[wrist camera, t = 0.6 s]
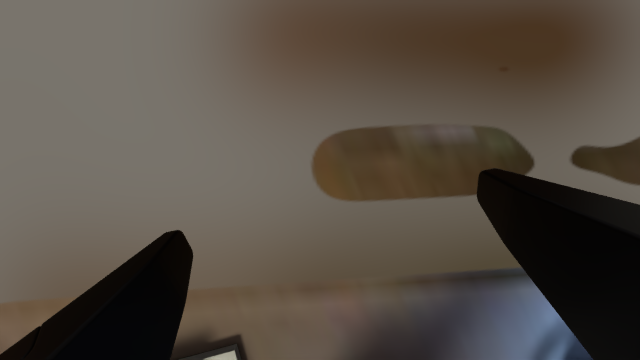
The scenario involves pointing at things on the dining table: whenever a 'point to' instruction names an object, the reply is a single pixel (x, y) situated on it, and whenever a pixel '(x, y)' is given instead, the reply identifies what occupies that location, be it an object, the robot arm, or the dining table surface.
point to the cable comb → (218, 354)
